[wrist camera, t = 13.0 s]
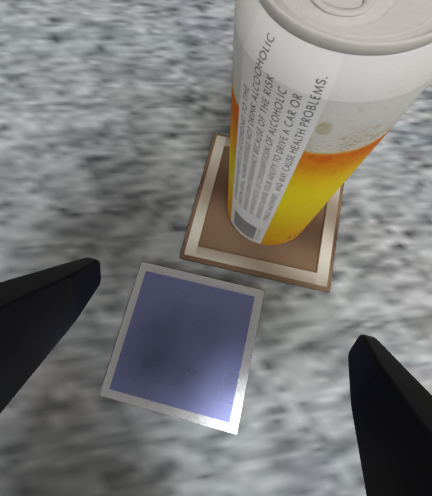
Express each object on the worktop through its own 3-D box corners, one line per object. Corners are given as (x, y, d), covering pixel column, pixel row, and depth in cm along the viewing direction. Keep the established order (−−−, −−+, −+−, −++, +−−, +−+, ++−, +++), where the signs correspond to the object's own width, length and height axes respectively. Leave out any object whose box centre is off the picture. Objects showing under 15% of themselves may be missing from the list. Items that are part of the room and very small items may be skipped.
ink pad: (236, 430, 17) (236, 436, 16) (103, 392, 18) (97, 396, 17) (263, 291, 20) (265, 290, 19) (144, 263, 20) (140, 260, 19)
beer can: (321, 200, 21) (537, -70, 7) (280, 263, 20) (435, 105, 5) (254, 161, 22) (314, -144, 8) (212, 220, 21) (186, -12, 6)
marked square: (328, 292, 19) (330, 291, 19) (180, 258, 20) (178, 256, 20) (345, 160, 22) (348, 156, 22) (214, 135, 23) (214, 131, 23)
